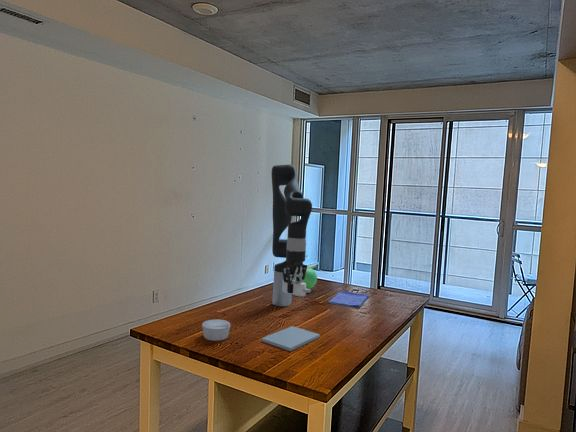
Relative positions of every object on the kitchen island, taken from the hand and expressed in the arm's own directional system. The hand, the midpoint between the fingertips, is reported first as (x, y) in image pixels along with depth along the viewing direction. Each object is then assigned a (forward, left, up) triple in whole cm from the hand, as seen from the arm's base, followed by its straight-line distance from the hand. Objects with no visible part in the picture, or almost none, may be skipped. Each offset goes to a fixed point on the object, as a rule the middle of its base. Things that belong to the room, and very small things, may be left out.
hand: (293, 291), depth 168 cm
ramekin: (+19, -23, -20) cm, 36 cm away
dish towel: (-69, -12, -20) cm, 73 cm away
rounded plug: (0, +1, -1) cm, 1 cm away
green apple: (-69, -44, -19) cm, 84 cm away
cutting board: (0, 0, -19) cm, 19 cm away
